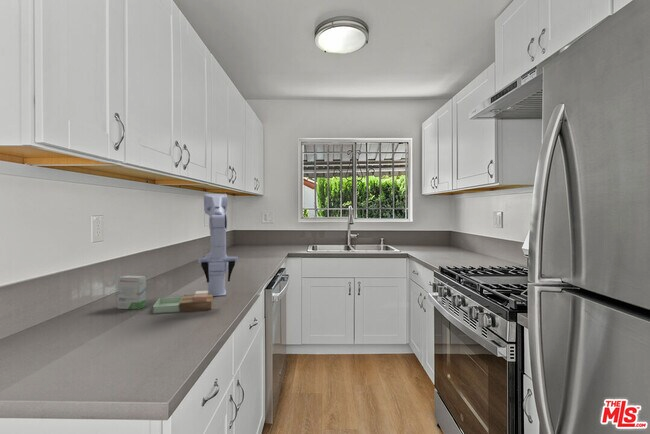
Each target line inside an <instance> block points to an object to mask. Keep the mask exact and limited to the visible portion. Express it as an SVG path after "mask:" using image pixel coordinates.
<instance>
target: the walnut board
mask: <svg viewBox="0 0 650 434" xmlns="http://www.w3.org/2000/svg"><path fill="white" fill-rule="evenodd" d="M194 295H195V294H184V295H183V296H182V297H183V298H182V300H181V302H180V303H179V310H180V312H196V311H197V312H198V311H211V310H212V307H213V302H214V296H213V294H208V297H207V301H200V302H194ZM180 312H179V313H180Z"/></svg>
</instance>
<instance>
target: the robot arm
mask: <svg viewBox="0 0 650 434" xmlns="http://www.w3.org/2000/svg"><path fill="white" fill-rule="evenodd" d="M203 208H204V209H203V210H204V211H203V212H204V214H206V215H208V220H209V221H208V226H209V227H208V228H209V235H210V237H209V238H210V251H209V252H208V253H206V254H205V255H204V257H198V258H197V262H198V264H200V265H201V266H200V267H201V269H202V270H203V274H204V275H205V277H206V278H205V279H206V283H207V291H208V294H213V297H221V296H226V295H227V289H226V273H227V272H228V274H227V282H230V281H231V275H232V272H233V269H234V267H235V265H236V263H238V262H239V257H238V256H228V254H227V229H228V216H227V214H226V212H227V208H228V194H227V193H204V194H203Z"/></svg>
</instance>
